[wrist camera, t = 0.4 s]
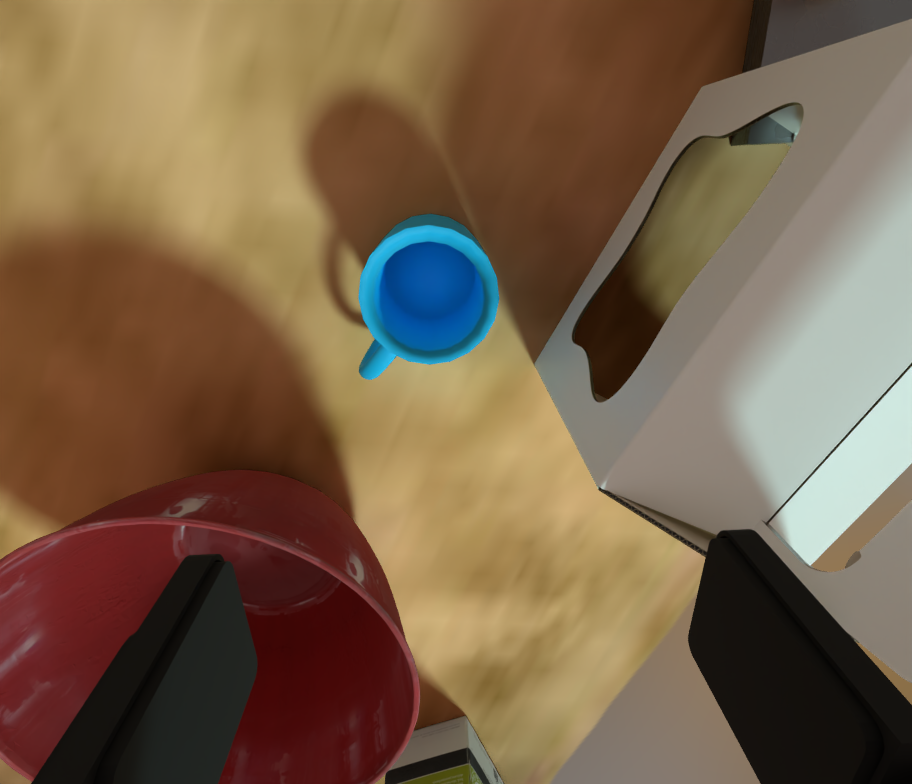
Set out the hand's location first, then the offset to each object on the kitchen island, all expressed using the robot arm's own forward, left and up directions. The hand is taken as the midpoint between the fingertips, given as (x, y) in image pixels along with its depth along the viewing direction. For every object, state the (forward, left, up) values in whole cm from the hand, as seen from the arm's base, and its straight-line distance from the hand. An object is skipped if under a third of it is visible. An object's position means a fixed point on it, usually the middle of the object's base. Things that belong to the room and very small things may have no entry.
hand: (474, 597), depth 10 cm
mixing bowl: (+22, -17, -30) cm, 41 cm away
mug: (0, -2, -30) cm, 30 cm away
